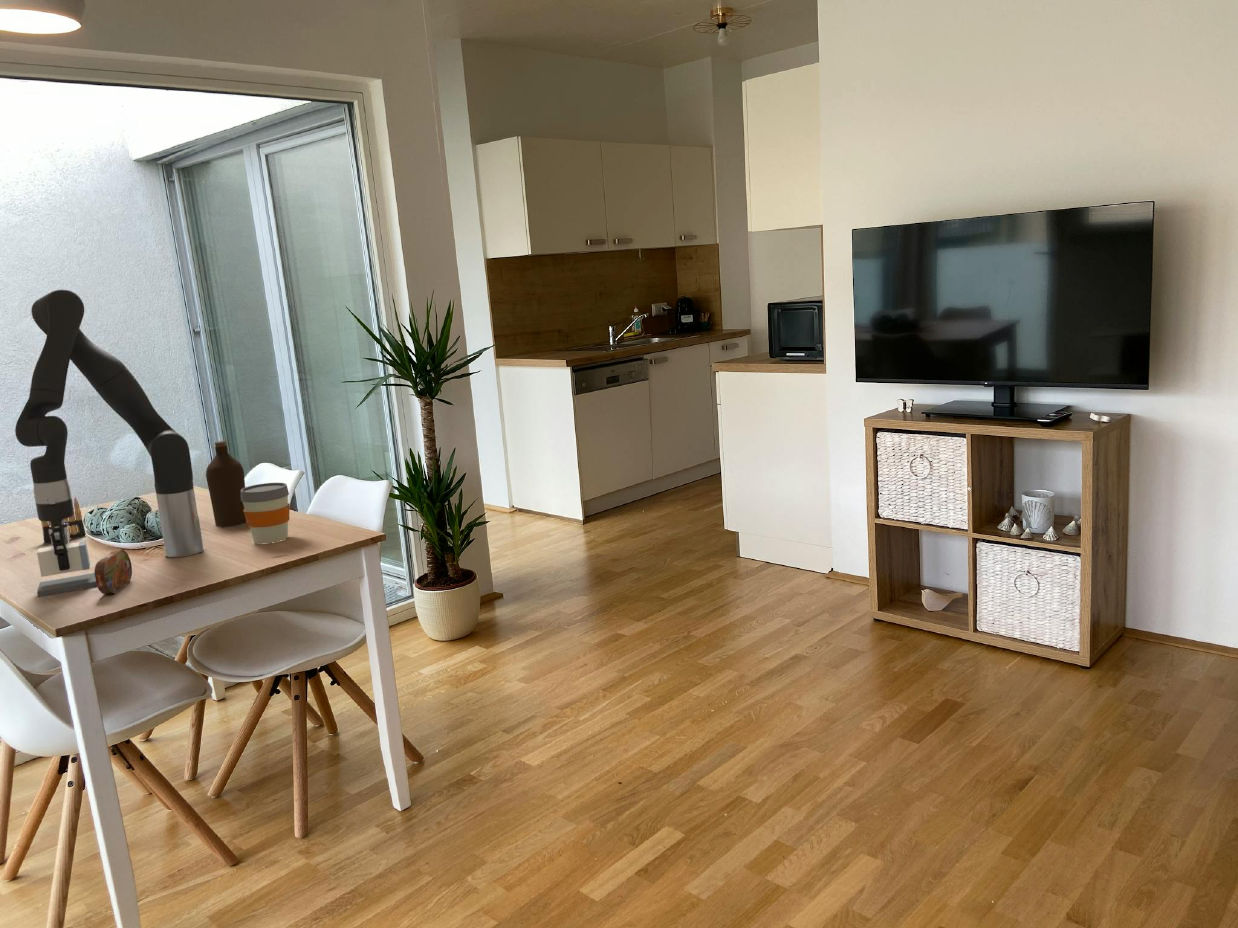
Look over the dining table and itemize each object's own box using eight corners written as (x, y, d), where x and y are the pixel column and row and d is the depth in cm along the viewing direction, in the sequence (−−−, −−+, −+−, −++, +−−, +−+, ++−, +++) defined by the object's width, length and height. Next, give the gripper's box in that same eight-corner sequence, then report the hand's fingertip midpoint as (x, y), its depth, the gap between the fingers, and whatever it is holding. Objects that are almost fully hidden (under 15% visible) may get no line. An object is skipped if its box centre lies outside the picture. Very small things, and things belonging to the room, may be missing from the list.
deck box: (43, 572, 229) (38, 548, 228) (90, 564, 233) (85, 540, 232) (41, 577, 225) (36, 552, 224) (89, 569, 229) (85, 544, 228)
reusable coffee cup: (237, 545, 258) (229, 492, 255) (265, 533, 270) (258, 482, 267) (276, 546, 255) (269, 492, 252) (303, 533, 266) (296, 482, 264)
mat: (100, 576, 236) (99, 571, 236) (99, 585, 229) (99, 580, 228) (40, 586, 231) (39, 582, 230) (38, 596, 223) (37, 591, 223)
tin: (110, 597, 218) (104, 563, 217) (96, 599, 218) (89, 564, 217) (135, 578, 233) (129, 545, 232) (121, 579, 233) (116, 546, 231)
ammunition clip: (45, 543, 274) (37, 504, 272) (44, 542, 276) (36, 503, 274) (86, 536, 281) (79, 497, 278) (85, 535, 282) (78, 496, 280)
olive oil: (236, 527, 280) (224, 444, 275) (205, 527, 282) (193, 445, 278) (257, 518, 290) (246, 438, 285) (228, 518, 292) (216, 438, 288)
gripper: (38, 496, 230) (50, 563, 233) (32, 506, 218) (45, 577, 221) (73, 491, 234) (84, 557, 237) (69, 501, 221) (81, 571, 224)
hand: (65, 566), depth 229 cm, fingers closed on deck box, 4 cm apart
